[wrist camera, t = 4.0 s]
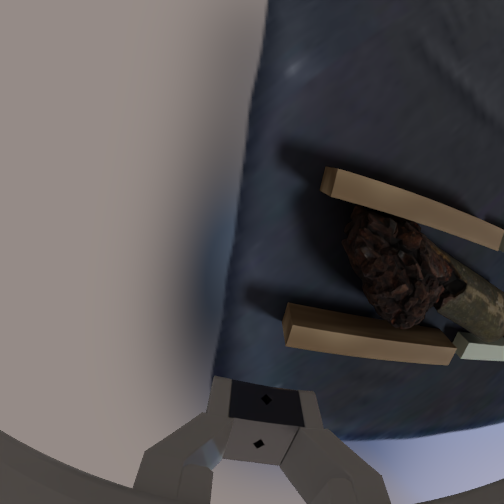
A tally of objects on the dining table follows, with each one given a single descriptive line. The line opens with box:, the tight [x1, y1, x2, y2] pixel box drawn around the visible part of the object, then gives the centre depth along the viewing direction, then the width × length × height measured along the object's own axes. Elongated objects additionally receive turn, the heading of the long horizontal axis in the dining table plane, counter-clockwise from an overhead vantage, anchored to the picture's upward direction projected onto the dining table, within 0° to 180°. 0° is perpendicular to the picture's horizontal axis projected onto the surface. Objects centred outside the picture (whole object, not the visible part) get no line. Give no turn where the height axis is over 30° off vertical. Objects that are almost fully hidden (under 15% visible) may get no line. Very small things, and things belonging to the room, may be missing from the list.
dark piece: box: [342, 205, 504, 343], centre depth 25 cm, size 21×8×7 cm, turn 63°
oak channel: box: [282, 167, 504, 365], centre depth 25 cm, size 14×17×4 cm
